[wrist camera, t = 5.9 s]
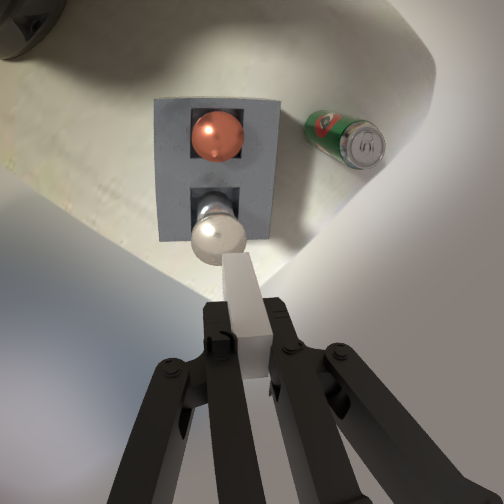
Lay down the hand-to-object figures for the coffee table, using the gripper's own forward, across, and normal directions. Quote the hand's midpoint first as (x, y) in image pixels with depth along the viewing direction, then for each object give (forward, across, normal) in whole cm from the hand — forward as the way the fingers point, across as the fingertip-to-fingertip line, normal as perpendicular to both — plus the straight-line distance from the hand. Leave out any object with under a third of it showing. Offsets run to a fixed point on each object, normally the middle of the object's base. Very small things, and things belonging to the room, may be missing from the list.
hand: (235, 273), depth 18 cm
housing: (+23, 0, +2) cm, 23 cm away
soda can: (+23, +13, +6) cm, 28 cm away
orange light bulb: (+20, 0, +6) cm, 21 cm away
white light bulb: (+16, -1, -2) cm, 16 cm away
